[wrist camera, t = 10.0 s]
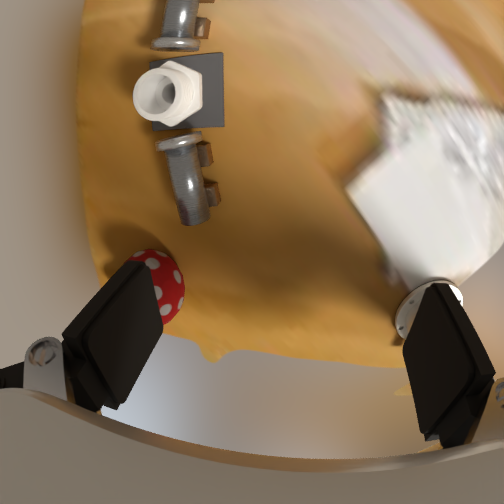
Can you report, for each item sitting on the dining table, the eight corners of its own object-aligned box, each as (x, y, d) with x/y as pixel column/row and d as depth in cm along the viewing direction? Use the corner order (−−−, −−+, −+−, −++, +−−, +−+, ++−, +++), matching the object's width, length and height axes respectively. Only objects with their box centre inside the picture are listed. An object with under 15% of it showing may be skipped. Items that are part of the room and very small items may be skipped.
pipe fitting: (212, 61, 27) (188, 53, 20) (212, 120, 31) (189, 128, 24) (160, 67, 28) (125, 64, 21) (162, 123, 31) (129, 133, 25)
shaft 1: (206, 52, 27) (189, 45, 22) (164, 53, 27) (142, 47, 22) (218, -19, 22) (205, -37, 17) (177, -17, 22) (157, -32, 17)
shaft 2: (222, 206, 36) (211, 226, 31) (184, 210, 37) (168, 230, 32) (208, 128, 32) (192, 135, 27) (168, 136, 33) (146, 145, 27)
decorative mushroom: (89, 323, 40) (138, 341, 31) (84, 252, 40) (132, 245, 32) (143, 315, 49) (203, 325, 40) (140, 252, 49) (199, 247, 41)
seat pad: (224, 126, 31) (223, 126, 31) (153, 130, 32) (152, 131, 32) (223, 53, 27) (222, 52, 26) (150, 62, 28) (149, 62, 27)
